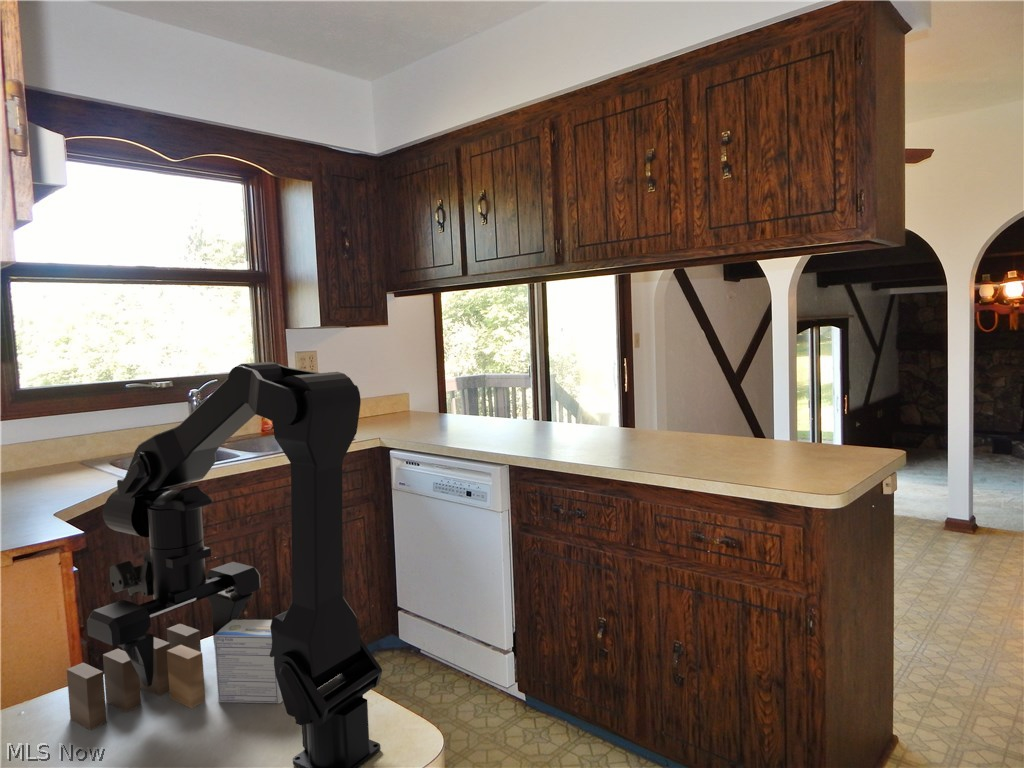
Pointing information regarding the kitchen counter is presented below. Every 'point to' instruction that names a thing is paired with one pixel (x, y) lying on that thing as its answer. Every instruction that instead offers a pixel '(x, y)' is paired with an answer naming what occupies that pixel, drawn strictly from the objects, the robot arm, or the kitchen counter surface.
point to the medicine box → (246, 663)
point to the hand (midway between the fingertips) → (185, 667)
